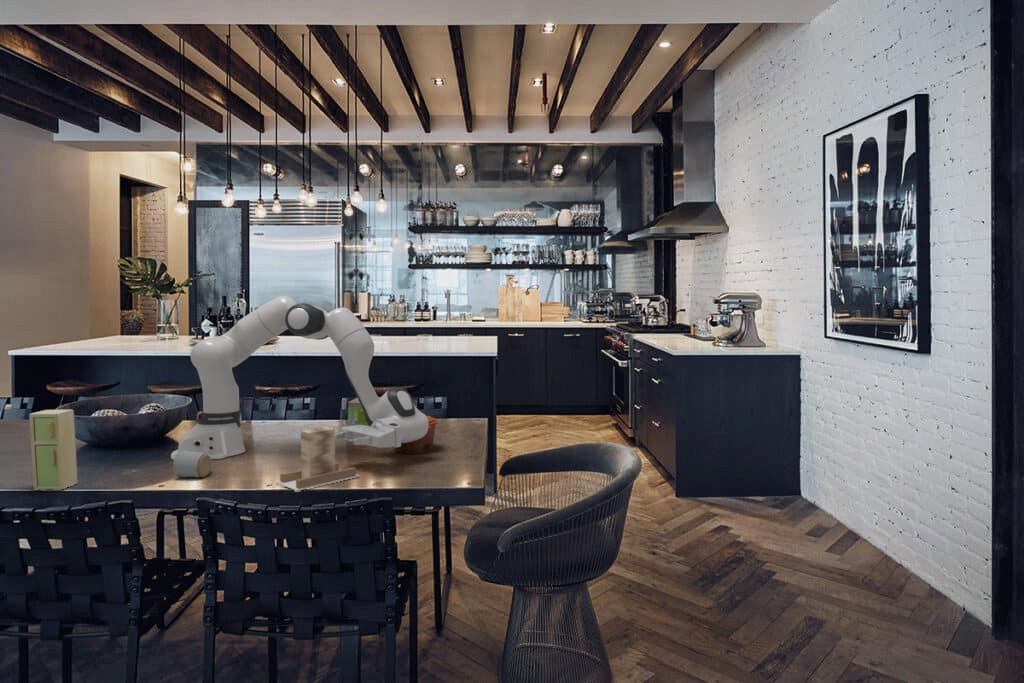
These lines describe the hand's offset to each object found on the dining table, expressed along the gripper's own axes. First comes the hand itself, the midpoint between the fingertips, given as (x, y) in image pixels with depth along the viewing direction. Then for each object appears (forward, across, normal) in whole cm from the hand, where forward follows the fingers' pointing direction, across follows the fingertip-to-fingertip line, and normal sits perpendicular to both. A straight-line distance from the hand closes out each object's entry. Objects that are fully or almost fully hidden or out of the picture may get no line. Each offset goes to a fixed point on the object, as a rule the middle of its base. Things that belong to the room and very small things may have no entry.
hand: (344, 439), depth 193 cm
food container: (-34, -11, +11) cm, 38 cm away
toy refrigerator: (+62, -47, +10) cm, 78 cm away
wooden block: (+9, 0, +10) cm, 13 cm away
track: (+9, 0, +10) cm, 13 cm away
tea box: (-34, -39, +11) cm, 53 cm away
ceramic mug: (+30, -32, +10) cm, 45 cm away
